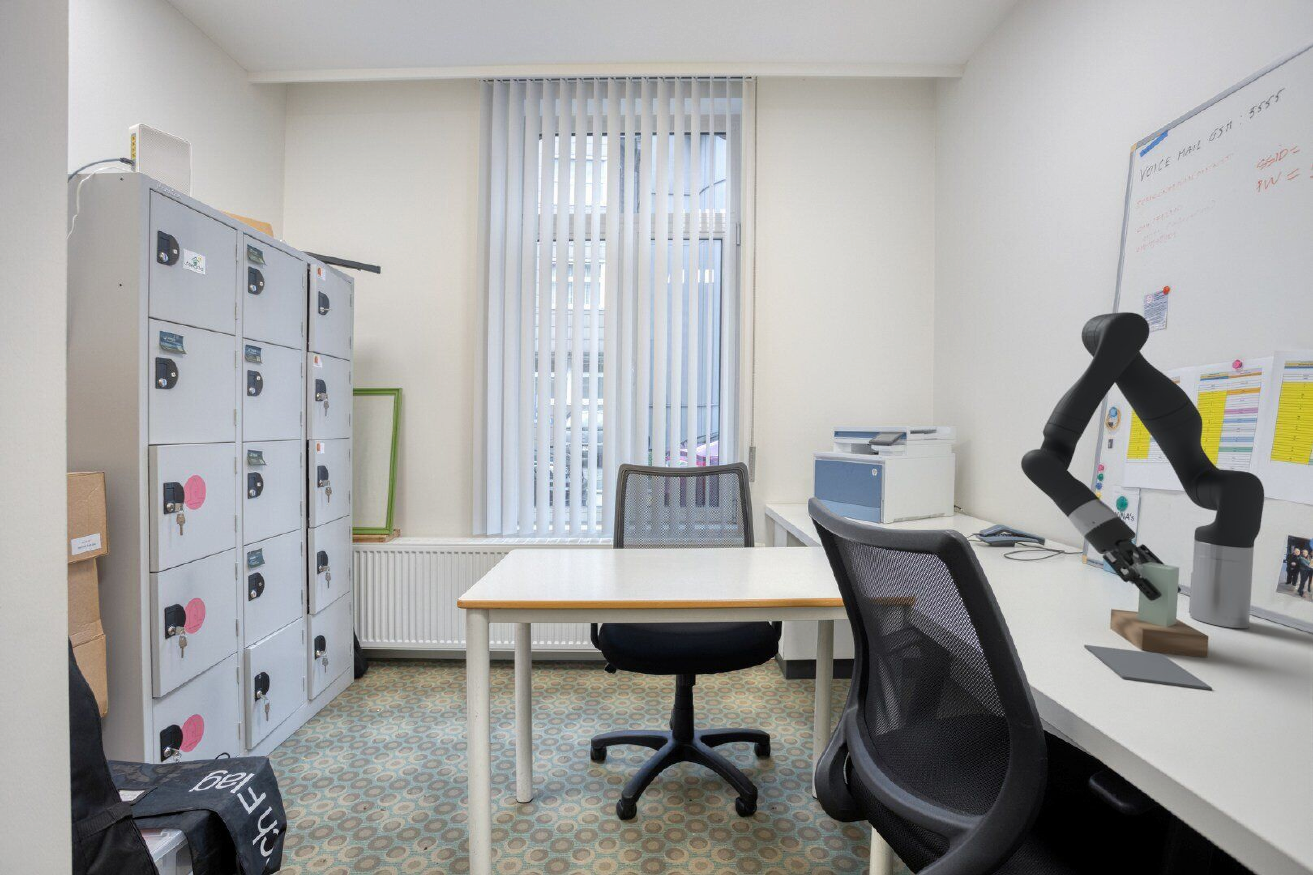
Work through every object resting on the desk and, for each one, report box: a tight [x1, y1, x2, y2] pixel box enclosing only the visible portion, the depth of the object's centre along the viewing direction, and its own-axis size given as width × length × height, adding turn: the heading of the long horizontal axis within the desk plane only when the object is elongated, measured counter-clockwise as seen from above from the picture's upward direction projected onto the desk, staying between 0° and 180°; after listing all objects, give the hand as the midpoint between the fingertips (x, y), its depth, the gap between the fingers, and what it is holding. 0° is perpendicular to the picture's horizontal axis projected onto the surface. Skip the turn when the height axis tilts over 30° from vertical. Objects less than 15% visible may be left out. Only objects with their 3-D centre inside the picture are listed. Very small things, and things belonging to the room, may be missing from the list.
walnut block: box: [1109, 608, 1209, 659], centre depth 111 cm, size 12×10×4 cm
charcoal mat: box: [1083, 644, 1213, 691], centre depth 99 cm, size 14×12×1 cm
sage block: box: [1137, 562, 1180, 627], centre depth 111 cm, size 4×4×11 cm
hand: (1166, 595), depth 109 cm, fingers open, 8 cm apart
